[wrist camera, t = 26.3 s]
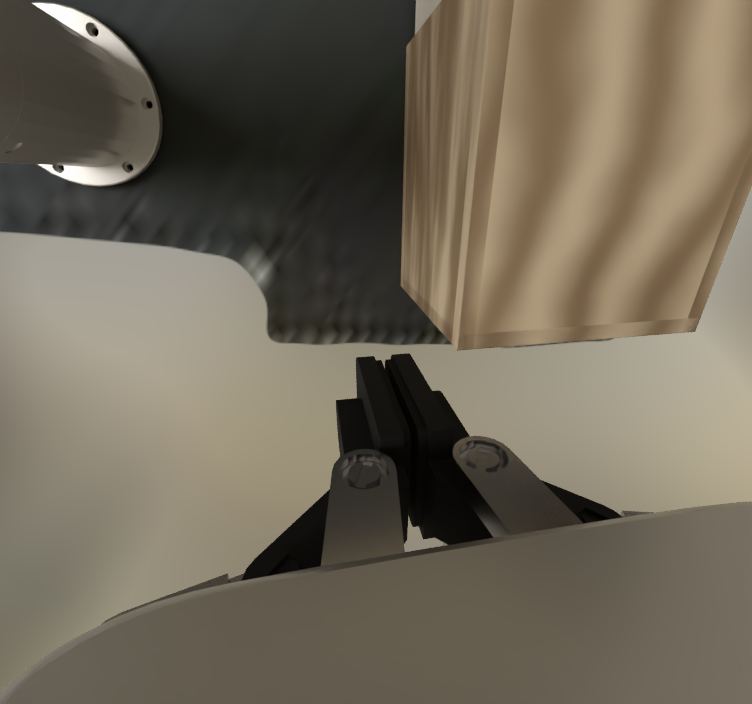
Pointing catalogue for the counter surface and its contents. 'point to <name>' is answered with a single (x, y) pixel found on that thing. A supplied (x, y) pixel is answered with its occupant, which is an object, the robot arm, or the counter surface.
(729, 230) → the cabinet
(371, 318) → the counter surface
